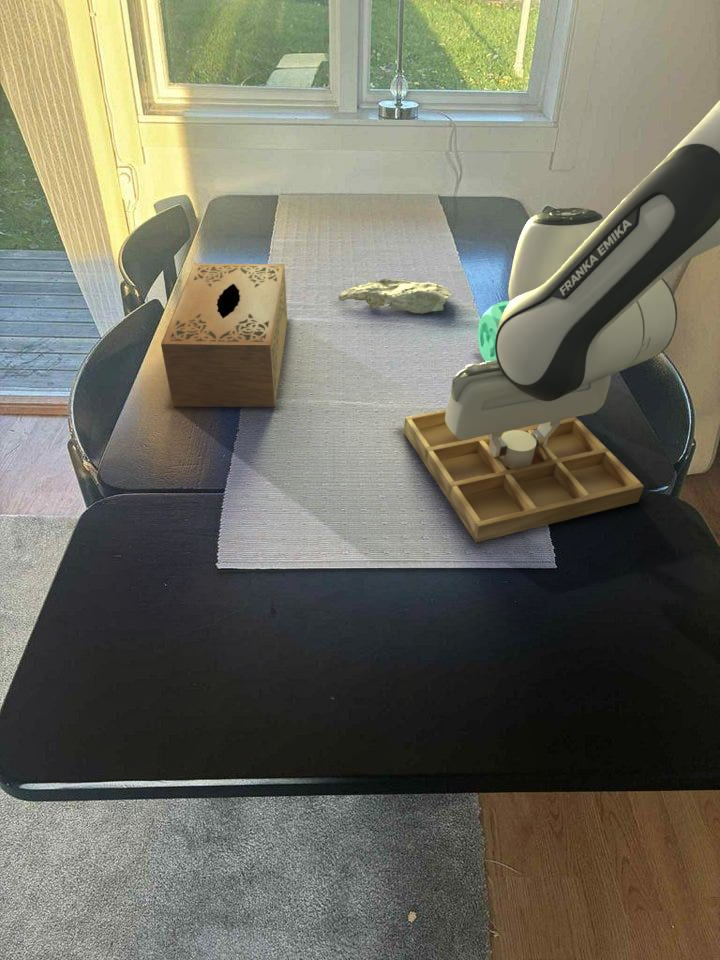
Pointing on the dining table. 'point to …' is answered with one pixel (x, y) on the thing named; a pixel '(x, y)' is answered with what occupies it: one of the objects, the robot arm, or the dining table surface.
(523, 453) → the white cylinder
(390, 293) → the rock
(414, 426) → the board
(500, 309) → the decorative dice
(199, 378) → the tissue box cover
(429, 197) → the dining table surface
